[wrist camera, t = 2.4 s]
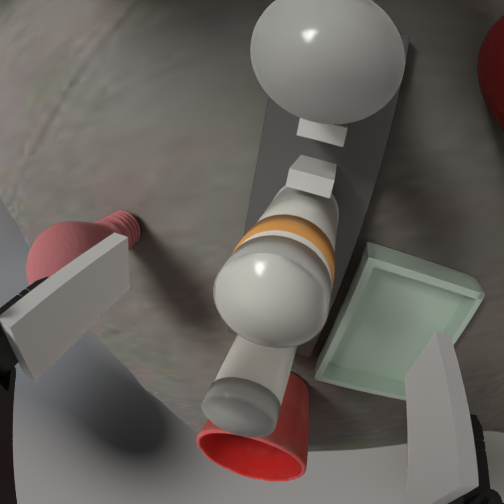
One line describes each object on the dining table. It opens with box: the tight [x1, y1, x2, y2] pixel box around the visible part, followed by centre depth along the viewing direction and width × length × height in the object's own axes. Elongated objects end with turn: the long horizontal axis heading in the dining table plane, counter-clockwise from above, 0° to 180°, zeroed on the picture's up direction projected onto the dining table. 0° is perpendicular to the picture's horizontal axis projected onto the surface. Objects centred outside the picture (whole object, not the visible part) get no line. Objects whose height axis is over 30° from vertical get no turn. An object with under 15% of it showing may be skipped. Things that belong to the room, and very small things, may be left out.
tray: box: [313, 241, 486, 400], centre depth 23 cm, size 13×10×2 cm
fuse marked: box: [213, 184, 339, 348], centre depth 16 cm, size 5×5×11 cm
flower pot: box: [197, 372, 310, 481], centre depth 28 cm, size 11×11×10 cm
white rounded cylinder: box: [250, 0, 405, 124], centre depth 12 cm, size 4×4×11 cm
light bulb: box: [26, 210, 140, 286], centre depth 22 cm, size 7×7×12 cm
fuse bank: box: [228, 33, 410, 358], centre depth 20 cm, size 27×8×6 cm, turn 170°
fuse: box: [202, 334, 297, 438], centre depth 21 cm, size 4×4×11 cm
